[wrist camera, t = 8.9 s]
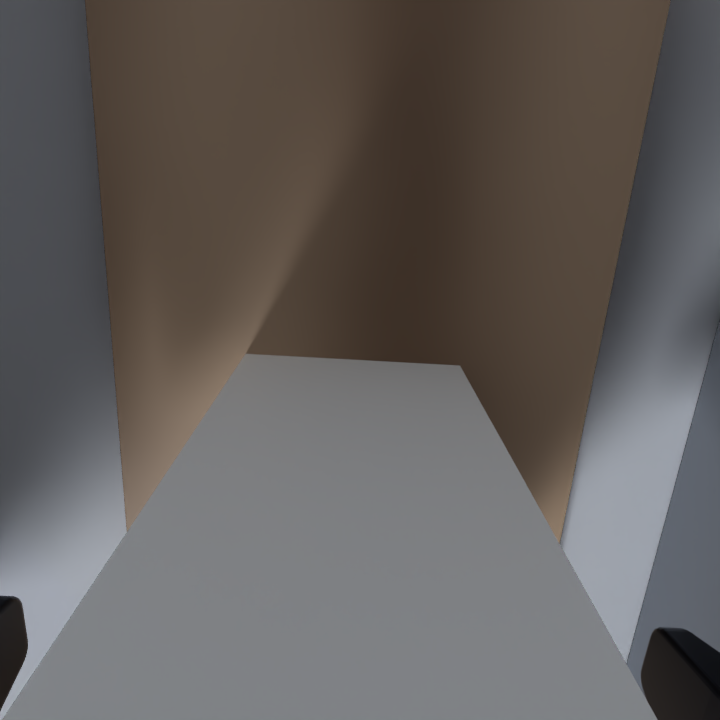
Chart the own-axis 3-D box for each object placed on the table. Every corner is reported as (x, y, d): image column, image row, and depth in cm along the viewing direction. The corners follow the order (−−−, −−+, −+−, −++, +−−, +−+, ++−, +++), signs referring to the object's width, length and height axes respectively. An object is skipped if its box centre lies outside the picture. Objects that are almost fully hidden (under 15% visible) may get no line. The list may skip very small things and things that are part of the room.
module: (244, 614, 12) (46, 1362, 4) (242, 353, 10) (-103, 858, 3) (431, 623, 12) (555, 1373, 4) (462, 365, 10) (762, 889, 3)
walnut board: (158, 805, 15) (150, 830, 14) (95, -95, 9) (75, -115, 8) (492, 818, 15) (498, 843, 14) (663, -52, 9) (684, -69, 8)
